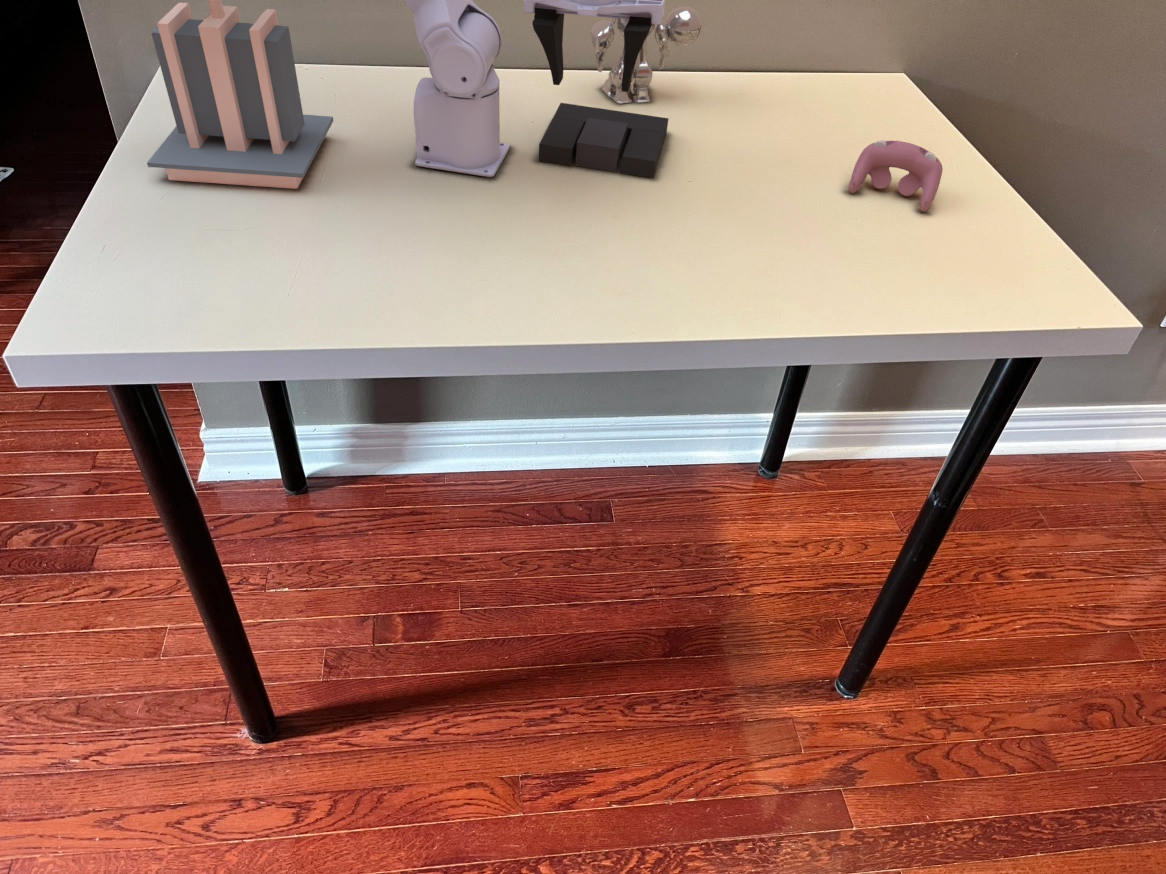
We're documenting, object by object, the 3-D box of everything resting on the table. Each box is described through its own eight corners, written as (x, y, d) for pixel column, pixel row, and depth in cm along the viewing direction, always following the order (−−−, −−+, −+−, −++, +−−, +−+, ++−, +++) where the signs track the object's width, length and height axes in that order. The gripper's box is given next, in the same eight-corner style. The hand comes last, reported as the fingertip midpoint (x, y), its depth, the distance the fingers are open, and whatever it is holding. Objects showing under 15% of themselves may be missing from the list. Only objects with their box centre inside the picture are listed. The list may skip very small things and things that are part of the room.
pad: (575, 166, 105) (576, 142, 103) (586, 140, 110) (588, 117, 108) (616, 172, 105) (618, 148, 103) (625, 146, 110) (628, 123, 108)
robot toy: (682, 82, 125) (698, -32, 114) (697, 101, 121) (715, -16, 110) (582, 87, 122) (589, -30, 111) (594, 106, 117) (602, -14, 107)
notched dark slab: (538, 161, 106) (539, 143, 104) (559, 119, 114) (560, 102, 113) (653, 178, 104) (655, 161, 103) (666, 134, 113) (668, 118, 111)
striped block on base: (342, 137, 107) (298, -188, 84) (313, 195, 97) (254, -157, 74) (190, 126, 107) (105, -204, 84) (146, 183, 96) (34, -174, 74)
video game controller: (928, 213, 105) (950, 154, 103) (929, 213, 101) (952, 151, 99) (847, 192, 108) (867, 133, 106) (844, 191, 104) (865, 130, 102)
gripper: (514, -45, 86) (519, 93, 95) (662, -34, 84) (651, 106, 93) (531, -65, 91) (534, 68, 100) (671, -55, 89) (660, 80, 98)
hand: (592, 84), depth 97 cm, fingers open, 7 cm apart
